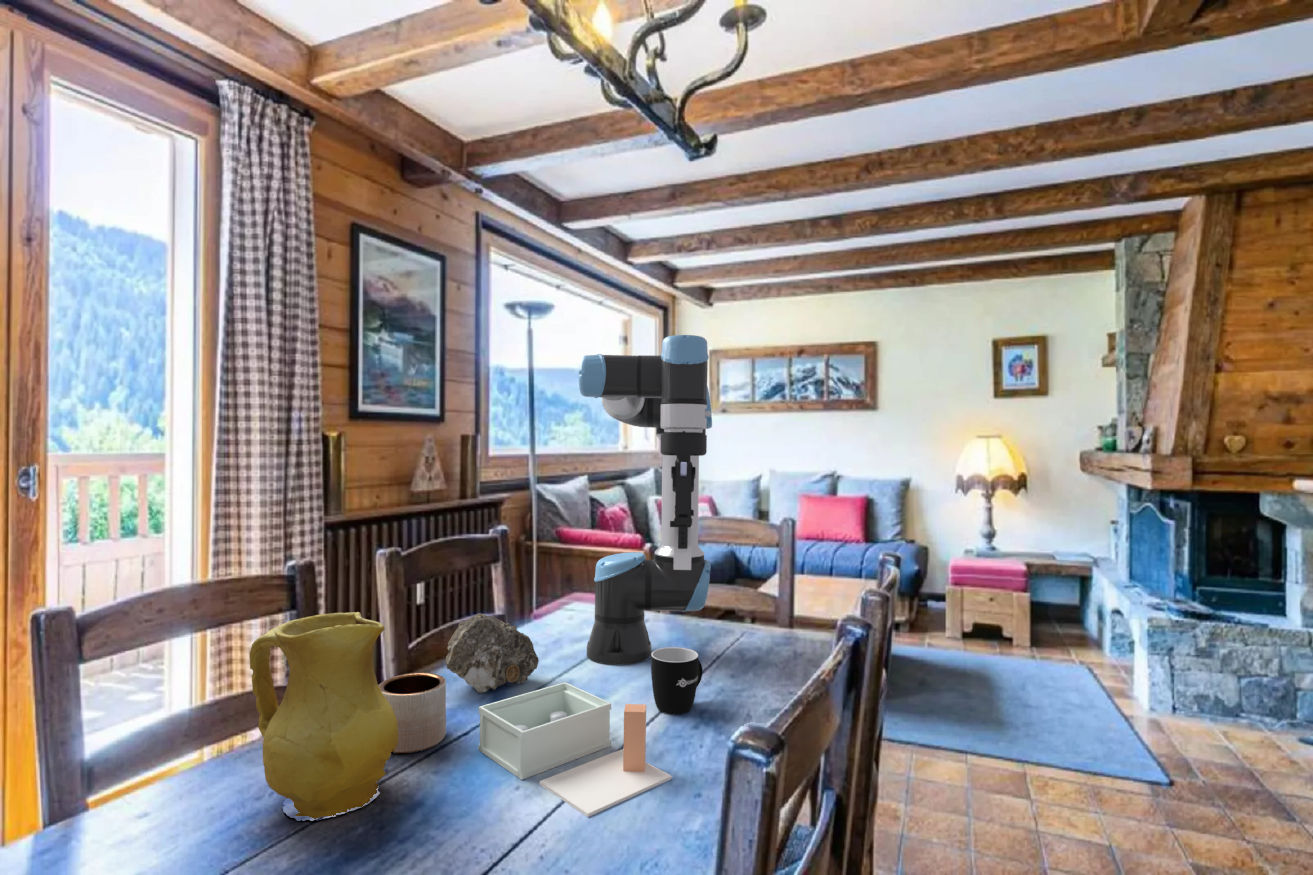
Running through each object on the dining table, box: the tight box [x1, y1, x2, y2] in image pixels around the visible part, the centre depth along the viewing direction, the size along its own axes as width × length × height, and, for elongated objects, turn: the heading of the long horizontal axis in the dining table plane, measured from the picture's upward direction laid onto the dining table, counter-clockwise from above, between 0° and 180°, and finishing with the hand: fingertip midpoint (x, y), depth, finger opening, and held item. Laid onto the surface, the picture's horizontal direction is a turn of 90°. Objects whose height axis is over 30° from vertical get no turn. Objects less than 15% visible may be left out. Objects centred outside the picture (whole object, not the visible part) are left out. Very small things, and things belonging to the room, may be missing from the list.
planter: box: [378, 672, 447, 754], centre depth 115 cm, size 11×11×10 cm
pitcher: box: [248, 611, 398, 819], centre depth 97 cm, size 17×19×25 cm
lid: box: [539, 703, 673, 818], centre depth 102 cm, size 16×12×10 cm
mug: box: [650, 646, 703, 715], centre depth 131 cm, size 12×9×10 cm
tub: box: [477, 681, 612, 781], centre depth 113 cm, size 17×13×7 cm
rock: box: [445, 612, 540, 694], centre depth 142 cm, size 18×14×15 cm
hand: (682, 561), depth 113 cm, fingers open, 13 cm apart
